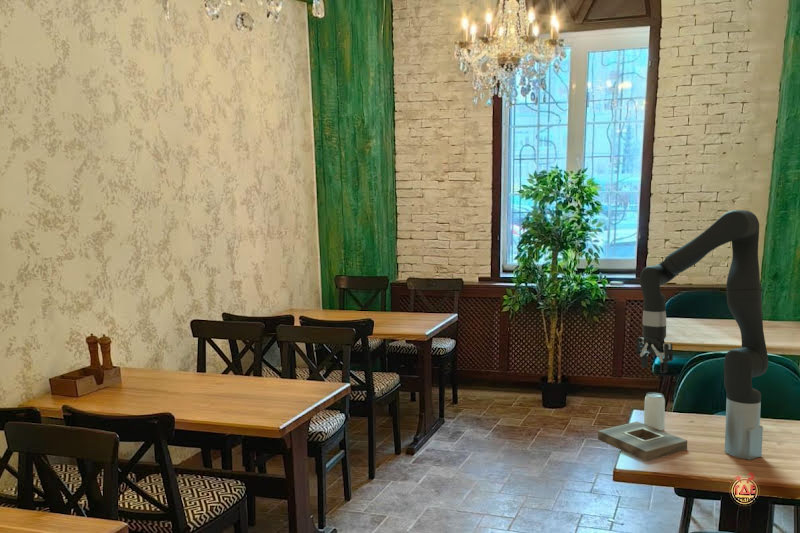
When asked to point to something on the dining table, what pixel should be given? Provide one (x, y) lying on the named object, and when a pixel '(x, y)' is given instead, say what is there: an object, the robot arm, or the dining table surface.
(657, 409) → the can
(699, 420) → the dining table surface
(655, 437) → the socket board
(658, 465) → the dining table surface
